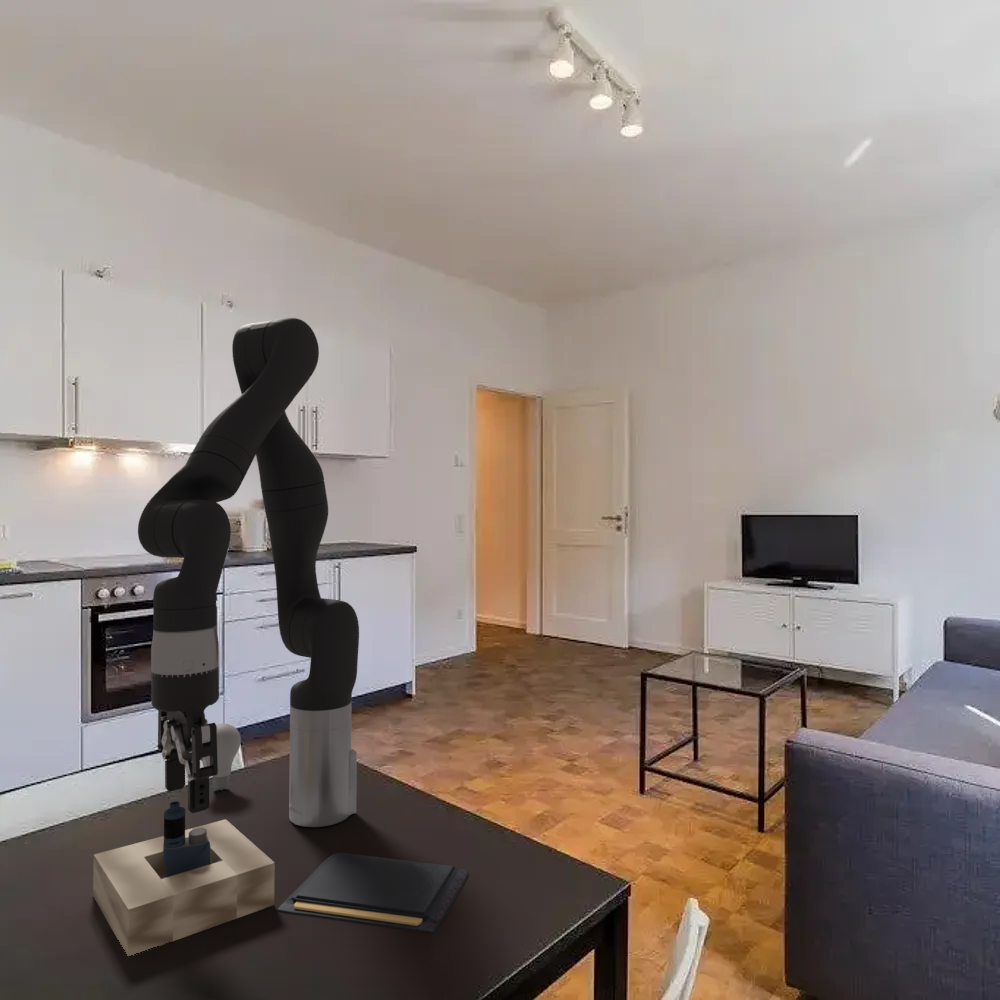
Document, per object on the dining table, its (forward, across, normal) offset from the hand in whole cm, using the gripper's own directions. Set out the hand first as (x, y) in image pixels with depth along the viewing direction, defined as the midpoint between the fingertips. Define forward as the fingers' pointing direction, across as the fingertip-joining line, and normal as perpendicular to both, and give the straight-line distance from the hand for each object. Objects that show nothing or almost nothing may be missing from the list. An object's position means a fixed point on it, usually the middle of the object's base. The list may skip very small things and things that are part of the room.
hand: (186, 799), depth 89 cm
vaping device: (+12, 0, 0) cm, 12 cm away
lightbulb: (+13, +32, -16) cm, 38 cm away
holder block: (+12, 0, 0) cm, 12 cm away
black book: (+13, -13, -19) cm, 26 cm away
